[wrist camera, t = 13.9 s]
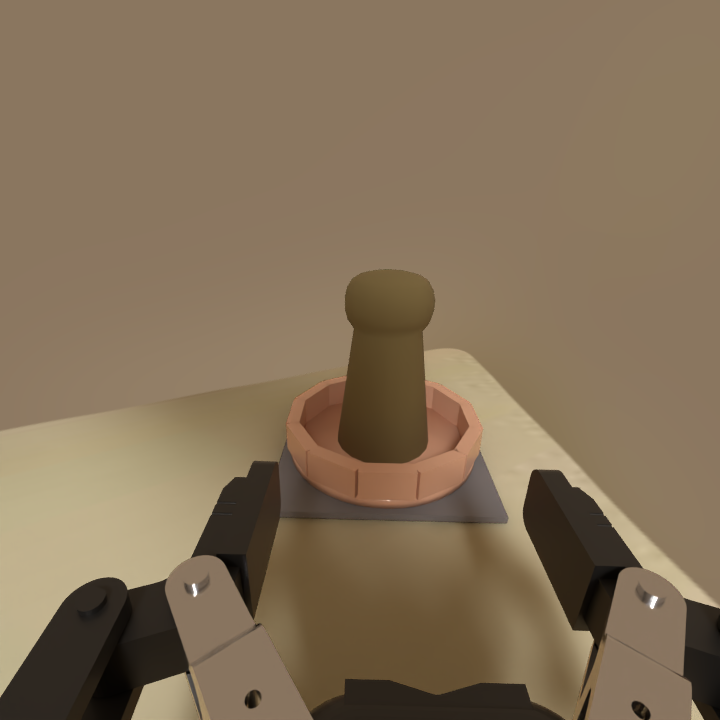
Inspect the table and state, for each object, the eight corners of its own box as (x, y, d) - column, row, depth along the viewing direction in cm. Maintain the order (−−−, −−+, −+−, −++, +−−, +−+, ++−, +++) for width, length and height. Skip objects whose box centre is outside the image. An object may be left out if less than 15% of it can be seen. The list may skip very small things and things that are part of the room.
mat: (264, 516, 22) (264, 510, 22) (300, 399, 34) (300, 395, 34) (506, 523, 22) (508, 517, 22) (457, 403, 34) (458, 399, 34)
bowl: (273, 505, 22) (270, 469, 21) (304, 398, 34) (303, 371, 33) (498, 511, 22) (505, 475, 21) (454, 401, 34) (457, 375, 33)
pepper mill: (378, 405, 32) (384, 259, 27) (446, 437, 28) (466, 273, 23) (318, 436, 28) (314, 270, 23) (388, 479, 24) (399, 290, 19)
